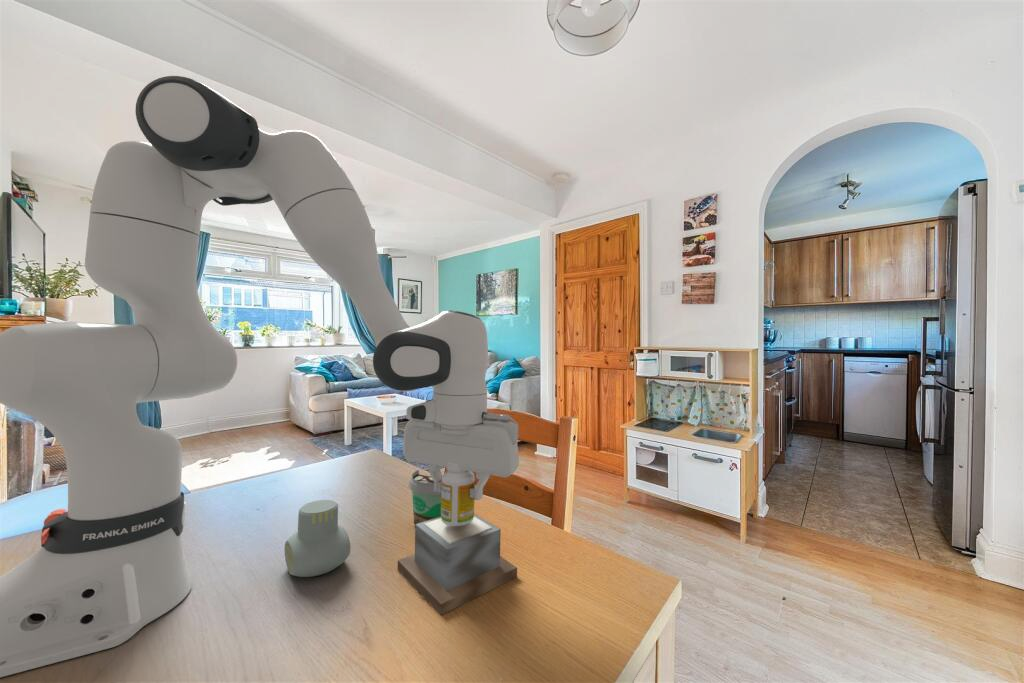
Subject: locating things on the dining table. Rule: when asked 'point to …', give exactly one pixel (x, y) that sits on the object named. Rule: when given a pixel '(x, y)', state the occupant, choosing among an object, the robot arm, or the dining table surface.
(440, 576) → the pedestal
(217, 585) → the dining table surface
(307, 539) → the air freshener
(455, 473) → the supplement bottle
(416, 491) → the food container
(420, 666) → the dining table surface
